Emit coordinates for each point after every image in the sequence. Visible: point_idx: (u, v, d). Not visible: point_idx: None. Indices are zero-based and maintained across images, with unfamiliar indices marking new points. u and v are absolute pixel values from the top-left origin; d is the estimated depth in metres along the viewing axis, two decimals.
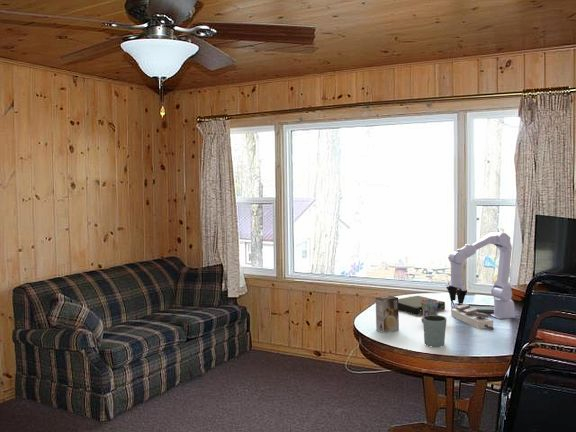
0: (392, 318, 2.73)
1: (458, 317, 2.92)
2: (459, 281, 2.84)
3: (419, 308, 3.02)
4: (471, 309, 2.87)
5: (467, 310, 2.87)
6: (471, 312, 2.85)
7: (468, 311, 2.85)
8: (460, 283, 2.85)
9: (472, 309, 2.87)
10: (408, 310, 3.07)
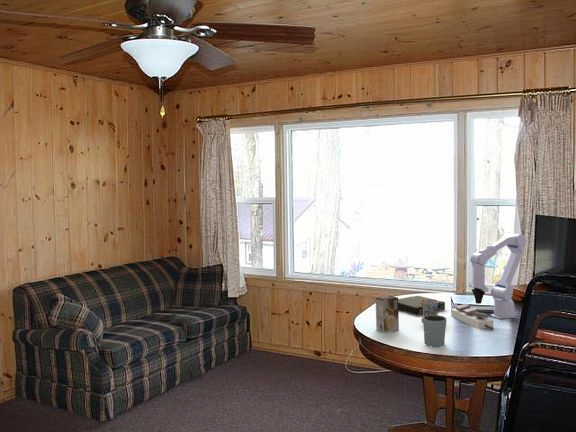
0: (392, 318, 2.73)
1: (458, 317, 2.92)
2: (481, 282, 2.84)
3: (419, 308, 3.02)
4: (471, 309, 2.87)
5: (467, 310, 2.87)
6: (471, 312, 2.85)
7: (468, 311, 2.85)
8: (482, 284, 2.85)
9: (472, 309, 2.87)
10: (408, 310, 3.07)
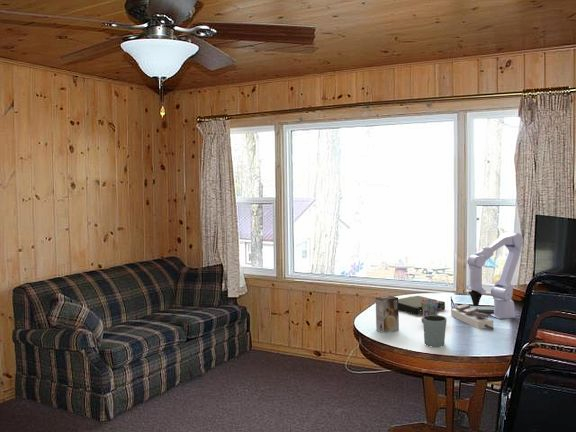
0: (392, 318, 2.73)
1: (458, 317, 2.92)
2: (478, 285, 2.84)
3: (419, 308, 3.02)
4: (471, 309, 2.87)
5: (467, 310, 2.87)
6: (471, 312, 2.85)
7: (468, 311, 2.85)
8: (479, 287, 2.84)
9: (472, 309, 2.87)
10: (408, 310, 3.07)
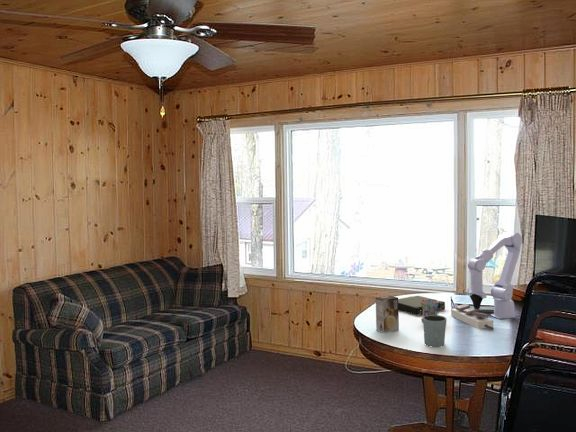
0: (392, 318, 2.73)
1: (458, 317, 2.92)
2: (479, 288, 2.84)
3: (419, 308, 3.02)
4: (471, 309, 2.87)
5: (467, 310, 2.87)
6: (471, 312, 2.85)
7: (468, 311, 2.85)
8: (480, 290, 2.85)
9: (472, 309, 2.87)
10: (408, 310, 3.07)
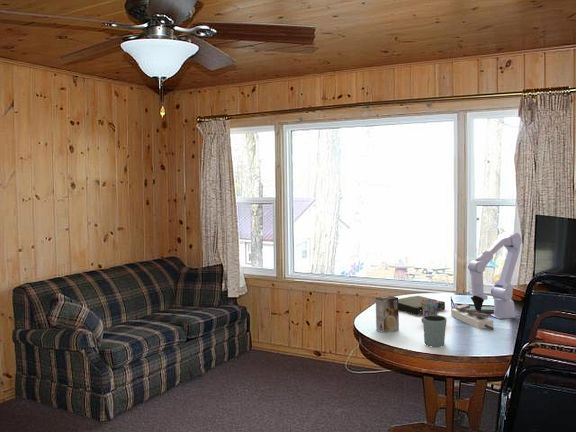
0: (392, 318, 2.73)
1: (458, 317, 2.92)
2: (480, 290, 2.85)
3: (419, 308, 3.02)
4: (472, 309, 2.87)
5: (468, 309, 2.87)
6: (471, 311, 2.85)
7: (469, 309, 2.86)
8: (481, 292, 2.85)
9: (473, 309, 2.87)
10: (408, 310, 3.07)
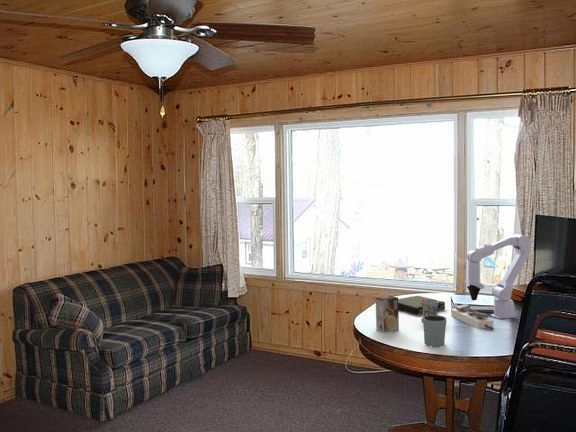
0: (392, 318, 2.73)
1: (458, 317, 2.92)
2: (477, 279, 2.89)
3: (419, 308, 3.02)
4: None
5: (469, 308, 2.87)
6: (472, 311, 2.85)
7: (470, 309, 2.86)
8: (478, 281, 2.90)
9: (473, 310, 2.87)
10: (408, 310, 3.07)
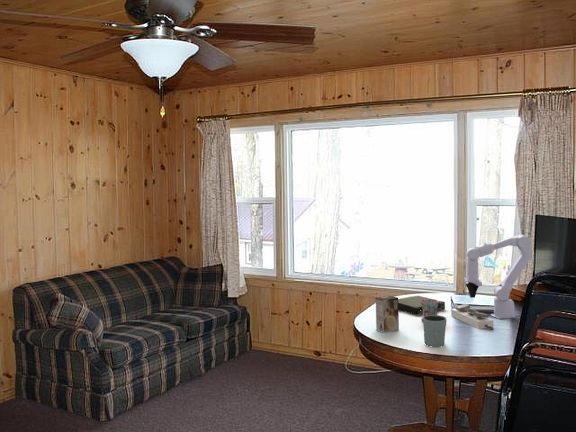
0: (392, 318, 2.73)
1: (458, 317, 2.92)
2: (475, 277, 2.93)
3: (419, 308, 3.02)
4: (472, 309, 2.88)
5: None
6: (472, 311, 2.85)
7: (470, 309, 2.86)
8: (476, 279, 2.94)
9: (473, 310, 2.87)
10: (408, 310, 3.07)
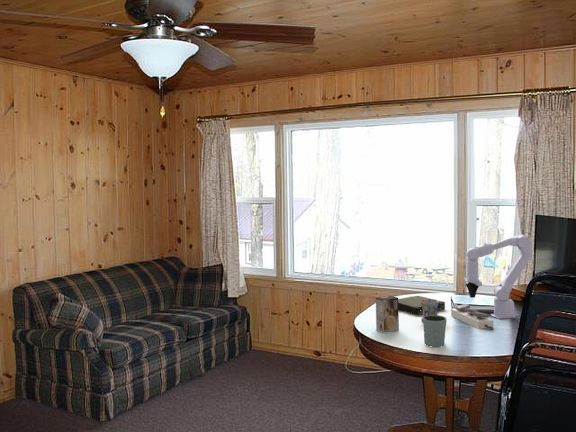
0: (392, 318, 2.73)
1: (458, 317, 2.92)
2: (475, 277, 2.93)
3: (419, 308, 3.02)
4: (472, 309, 2.87)
5: None
6: (472, 311, 2.85)
7: (469, 309, 2.86)
8: (476, 279, 2.94)
9: (473, 310, 2.87)
10: (408, 310, 3.07)
